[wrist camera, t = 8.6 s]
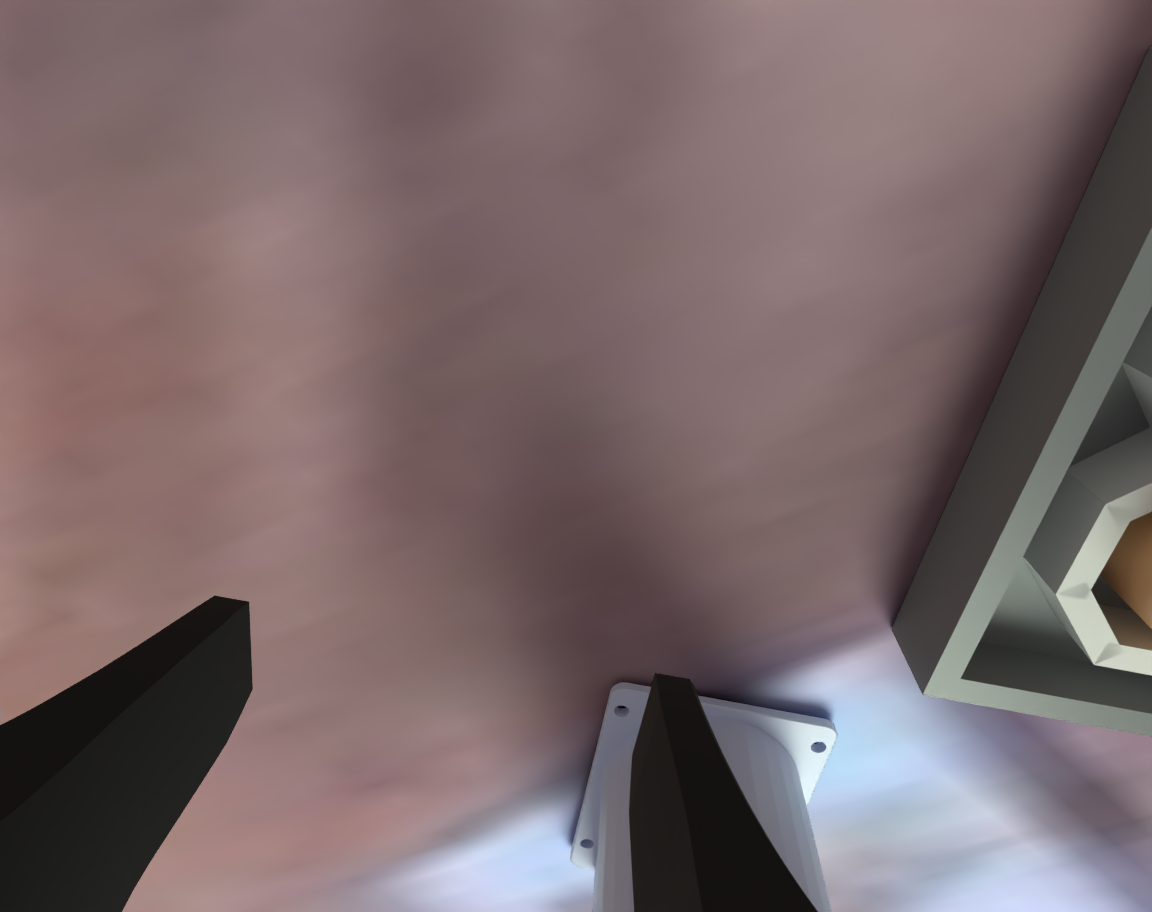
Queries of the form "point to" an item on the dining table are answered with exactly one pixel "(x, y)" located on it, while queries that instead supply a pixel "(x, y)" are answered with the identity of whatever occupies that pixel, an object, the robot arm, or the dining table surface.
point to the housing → (1056, 481)
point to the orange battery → (1133, 567)
